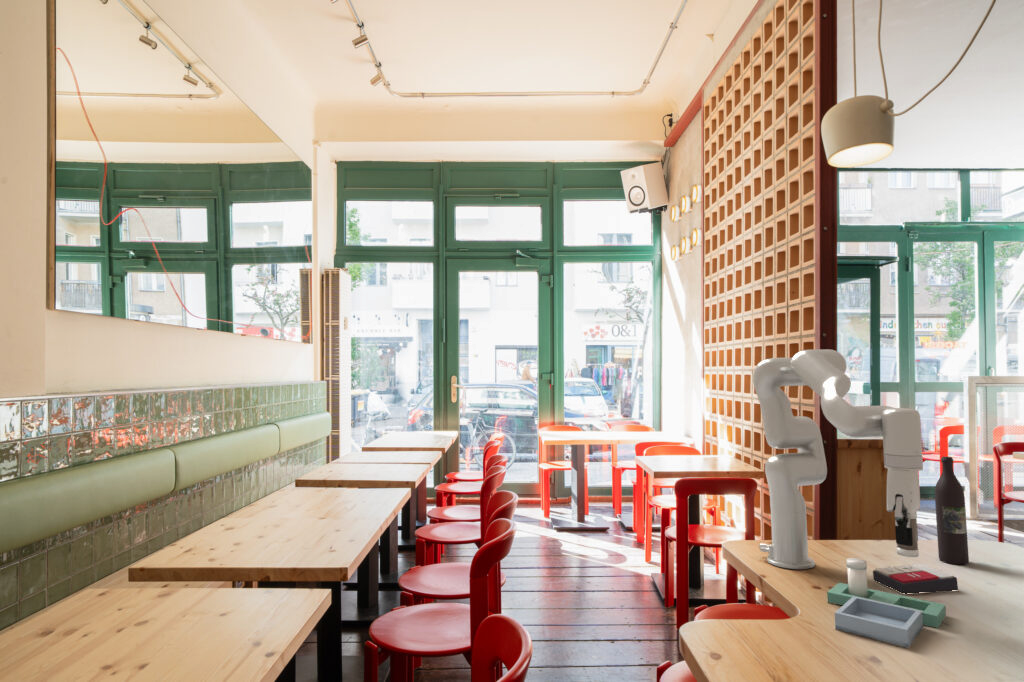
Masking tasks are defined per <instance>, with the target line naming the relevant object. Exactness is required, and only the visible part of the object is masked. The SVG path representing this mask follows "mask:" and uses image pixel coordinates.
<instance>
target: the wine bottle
mask: <svg viewBox="0 0 1024 682" xmlns="http://www.w3.org/2000/svg"><path fill="white" fill-rule="evenodd" d="M940 462H941V464H942V465H941V466H942V471H941V474H940V476H939V479H938V480H937V482H936V484H935V486H934V503H935V506H934V507H935V516H936V517H935V518H936V533H937V534H936V535H937V536H936V537H937V550H938V551H937V552H938V559H939V560H940V561H941V562H944V563H945V562H946V564H949V563H951V564H950V565H956V564H958V565H959V566H960V565H961V566H962V565H964V564H965V565H967V564H969V563H970V558H969V544H968V543H969V542H968V530H967V529H968V527H967V514H966V497H965V491H964V488H963V485H962V484H961V482H960V481H959V479H958V478H957V476H956V475H955V473H954V467H953V466H954V458H953V457H952V456H941V458H940ZM958 565H957V566H958Z"/></svg>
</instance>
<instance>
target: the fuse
mask: <svg viewBox="0 0 1024 682" xmlns="http://www.w3.org/2000/svg"><path fill="white" fill-rule="evenodd" d="M867 566H868V565H867V560H865V559H864V558H863V559H862V558H857V557H856V558H855V557H848V558H846V569H847V584H848V590H849V595H854V596H858V597H863V598H868V589H869V588H868V576H867V575H868V574H867V569H868V567H867ZM867 588H868V589H867Z"/></svg>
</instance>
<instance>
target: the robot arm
mask: <svg viewBox="0 0 1024 682" xmlns="http://www.w3.org/2000/svg"><path fill="white" fill-rule="evenodd" d="M846 371H847V360H846V359H845V357H844V356H843V354H841V352H839V351H837V350H834V349H802V350H800V351H797V352H796V353H795V354H794V355H793V356H792V357H771V358H766V359H763V360H760V362H759V363H757V365H756V366H755V368H754V371H753V374H752V382H753V384H752V385H753V386H754V391H755V393H756V396H757V399H758V401H759V405H760V406H759V407H760V413H761V419H762V425H763V431H764V437H765V439H766V440H765V441H766V443H767V445H768V446H769V447H771V448H772V449H776V450H777V449H778V450H788V449H797V451H798V452H791V453H790V452H789V453H788V452H787V453H786V452H785V453H779V454H775V455H772V456H770V457H769V458H768V459H767V460H766V462H765V465H764V470H765V471H764V473H765V477H766V480H767V486H768V491H769V506H770V525H771V543H770V544H766V543H763V542H761V543H759V545H758V548H759V551H760V552H763V553H767V554H768V555H767V556H766V557H767V563H769V564H770V565H773V566H775V567H779V568H783V569H790V570H806V569H808V570H809V569H812V568H814V567H815V565H816V563H815V560H814V559H813V558H812V557H809V545H808V544H809V543H808V540H809V539H808V526H807V523H808V522H807V505H806V499H805V497H804V496H803V494H802V493H801V491H800V490H799V488H798V487H802V486H816V485H820V484H822V483H823V482H824V481H825V480H826V479H827V475H828V467H827V460H826V454H825V448H824V443H823V436H822V433H821V429H820V427H819V426H818V425H819V424H817V423H816V421H814V419H812V418H810V417H809V416H805V415H804V416H803V415H801V416H798V415H795V416H794V413H793V410H792V404H791V401H790V399H789V397H788V396H787V394H786V393H785V392H784V390H783V389H781V387H797V386H798V387H805V386H806V387H809V388H810V389H811V390H813V392H815V393H816V394H817V396H819V397H820V407H821V410H822V414H823V416H824V417H825V419H826V420H827V421H828V422H829V423H830V424H831V425H832V426H833V427H834V428H836V429H837V430H838V431H839V432H840V433H841V434H843V435H845V436H847V437H850V438H855V439H856V438H879V437H880V438H881V437H882V447H883V464H884V466H883V467H884V468H885V469H887V475H886V511H887V512H889V513H893V512H894V518H895V519H894V520H895V521H894V524H895V525H894V526H895V527H894V529H895V543H896V545H897V544H901V545H907V546H912V545H913V533H912V528H910V514H912V513H914V512H915V511H917V512H918V510H919V509H920V507H921V492H920V491H921V490H920V479H919V477H920V475H919V472H920V471H923V470H924V461H923V446H922V445H923V442H922V425H921V424H922V423H921V421H922V419H921V414H920V412H919V410H917V409H915V408H906V407H904V408H903V407H893V406H888V405H857V406H853V405H852V404H850V403H849V402H847V401H846V400H845V399H844V397H845V396H846V395H847V394H848V392H849V391H850V388H851V386H852V385H851V379H850V377H849V376H848V375H847V374H846ZM903 511H906V512H907V513H903ZM903 516H907V521H906V518H905V517H903ZM917 519H918V517H917V518H916V521H917ZM917 522H918V521H917ZM918 534H919V533H918V531H917V541H919V537H918V536H919V535H918Z"/></svg>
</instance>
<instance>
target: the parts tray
mask: <svg viewBox="0 0 1024 682" xmlns="http://www.w3.org/2000/svg"><path fill="white" fill-rule="evenodd" d="M834 627H835V630H837V631H841V632H845V633H848V634H852V635H857V636H860V637H864V638H868V639H871V640H875V641H880V642H882V643H883V642H884V643H887V644H892V645H895V646H900V647H903V648H906V649H908V648H910V646H911V645H912V644H913V642H914V641H915V640H916V638H917V636H918V635H920V632H921V631H922V630H923V629H924V625H923V616H922V611H920V610H916V609H911V608H906V607H902V606H897V605H893V604H888V603H883V602H879V601H874V600H870V599H865V598H860V597H856V596H853V597H852V598H851V599H850V600H848V601H847V602H846V603H845V604H844V605H843V606H840V607H839V608H838V609H837V610H836V611H835V612H834Z"/></svg>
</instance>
